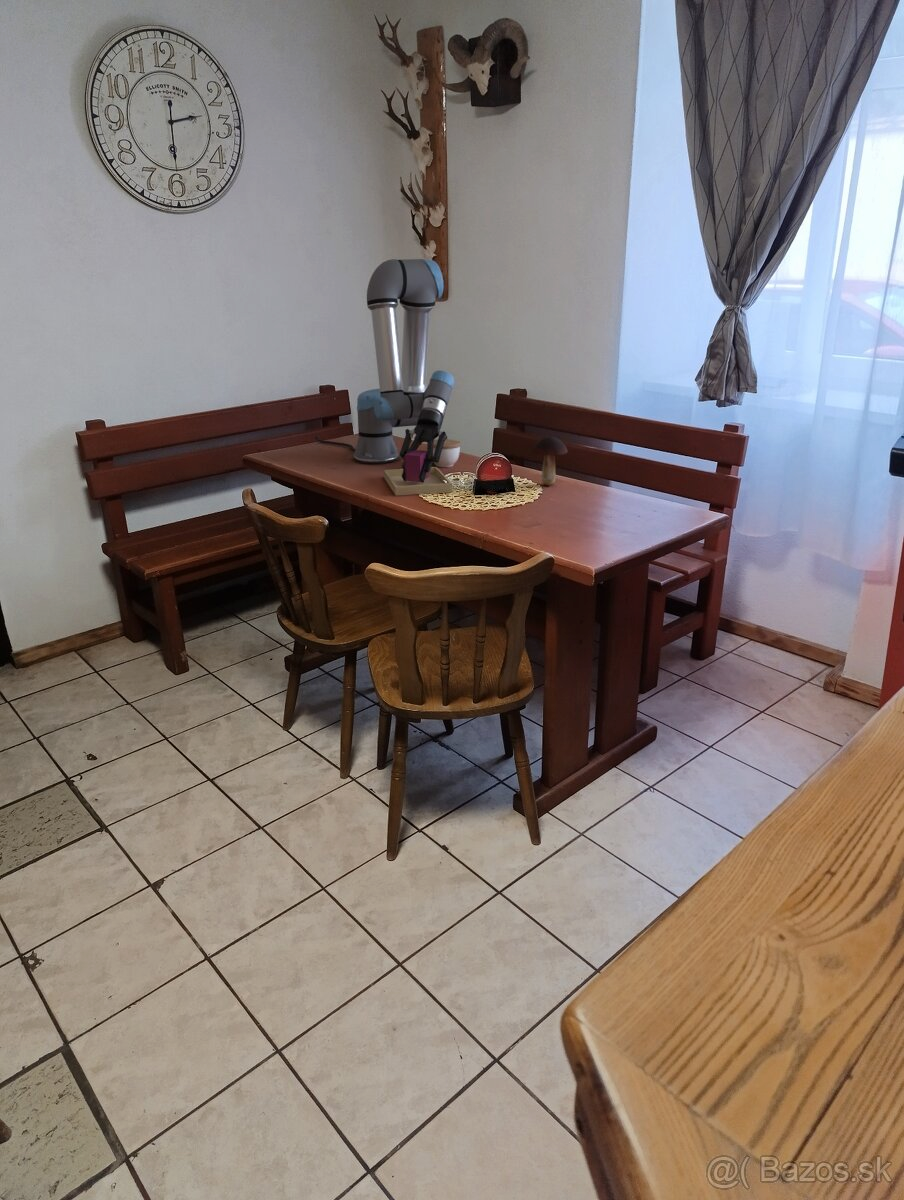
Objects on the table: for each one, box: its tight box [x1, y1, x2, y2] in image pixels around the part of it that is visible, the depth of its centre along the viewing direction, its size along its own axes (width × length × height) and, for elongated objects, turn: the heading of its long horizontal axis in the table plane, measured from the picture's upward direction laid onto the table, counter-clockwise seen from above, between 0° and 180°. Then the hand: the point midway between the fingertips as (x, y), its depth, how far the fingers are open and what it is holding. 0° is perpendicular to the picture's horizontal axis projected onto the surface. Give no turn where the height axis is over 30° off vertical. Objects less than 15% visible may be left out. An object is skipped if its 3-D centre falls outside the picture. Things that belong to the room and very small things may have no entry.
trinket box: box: [433, 438, 461, 468], centre depth 272 cm, size 11×11×9 cm
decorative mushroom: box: [531, 436, 569, 487], centre depth 247 cm, size 11×11×15 cm
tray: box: [383, 466, 453, 496], centre depth 250 cm, size 21×17×3 cm
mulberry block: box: [405, 449, 429, 482], centre depth 248 cm, size 7×5×8 cm
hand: (412, 479), depth 246 cm, fingers closed on mulberry block, 5 cm apart
